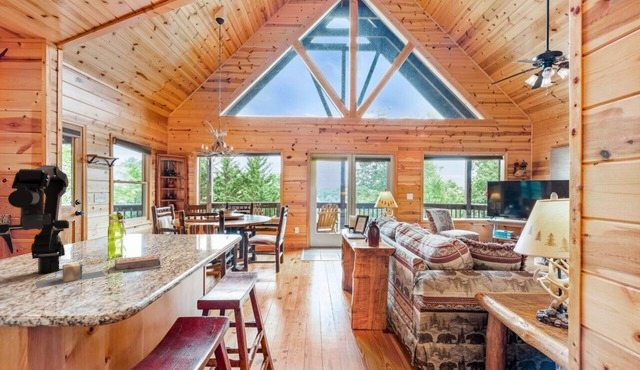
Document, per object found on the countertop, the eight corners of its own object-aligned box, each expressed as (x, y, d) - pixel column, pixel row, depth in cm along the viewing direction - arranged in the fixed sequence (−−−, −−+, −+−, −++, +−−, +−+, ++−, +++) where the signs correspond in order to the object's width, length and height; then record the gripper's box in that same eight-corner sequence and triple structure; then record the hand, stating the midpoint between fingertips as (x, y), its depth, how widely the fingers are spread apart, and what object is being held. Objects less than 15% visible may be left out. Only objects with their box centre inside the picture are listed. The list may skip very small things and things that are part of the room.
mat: (36, 289, 98) (36, 287, 98) (35, 282, 104) (35, 281, 104) (106, 276, 111) (106, 275, 111) (101, 271, 118) (101, 270, 118)
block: (64, 267, 104) (82, 265, 108) (62, 264, 107) (80, 262, 111) (64, 281, 104) (82, 278, 108) (62, 278, 107) (79, 275, 111)
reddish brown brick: (160, 252, 132) (161, 257, 124) (160, 263, 132) (160, 269, 124) (111, 257, 123) (108, 263, 114) (111, 268, 123) (108, 275, 114)
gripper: (-11, 208, 88) (-11, 260, 88) (71, 205, 101) (70, 251, 101) (-9, 206, 95) (-9, 254, 95) (67, 204, 109) (66, 246, 109)
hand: (31, 251), depth 100 cm, fingers open, 9 cm apart
